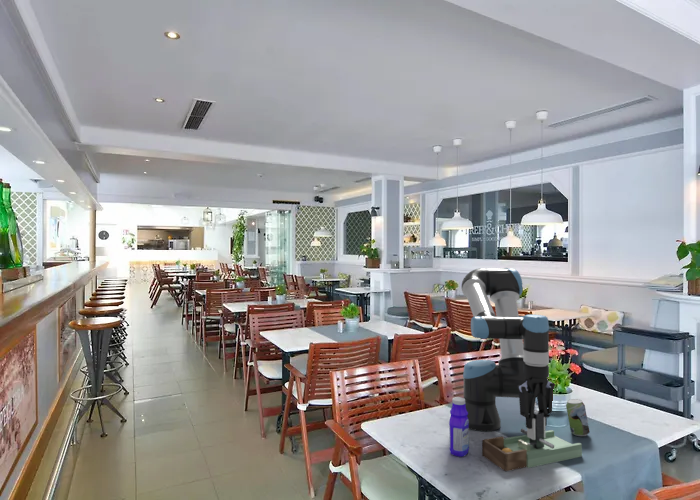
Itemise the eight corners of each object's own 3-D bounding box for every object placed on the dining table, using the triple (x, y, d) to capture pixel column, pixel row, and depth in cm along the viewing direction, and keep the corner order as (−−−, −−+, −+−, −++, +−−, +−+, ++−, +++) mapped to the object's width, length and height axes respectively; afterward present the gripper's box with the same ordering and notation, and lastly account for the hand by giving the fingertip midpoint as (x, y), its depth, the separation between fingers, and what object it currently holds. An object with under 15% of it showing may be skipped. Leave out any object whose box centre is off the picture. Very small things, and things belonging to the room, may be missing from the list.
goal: (502, 451, 139) (502, 436, 140) (526, 467, 129) (526, 450, 129) (482, 455, 137) (482, 439, 137) (505, 471, 127) (505, 454, 127)
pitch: (552, 441, 148) (551, 429, 148) (581, 456, 136) (581, 444, 136) (500, 451, 140) (500, 438, 140) (528, 467, 129) (528, 454, 129)
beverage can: (592, 438, 150) (591, 404, 150) (569, 437, 151) (569, 402, 151) (586, 431, 156) (585, 398, 156) (564, 430, 157) (563, 397, 158)
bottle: (464, 459, 134) (464, 403, 134) (446, 455, 137) (446, 400, 137) (471, 450, 140) (471, 397, 140) (454, 446, 143) (454, 394, 143)
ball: (498, 451, 133) (505, 443, 134) (499, 456, 135) (506, 448, 136) (507, 459, 131) (515, 451, 132) (508, 464, 133) (515, 456, 134)
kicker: (525, 437, 144) (525, 405, 144) (556, 454, 132) (556, 418, 132) (508, 440, 142) (508, 407, 142) (538, 457, 130) (537, 421, 130)
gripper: (546, 358, 145) (547, 429, 144) (507, 363, 139) (507, 436, 138) (564, 364, 138) (565, 438, 137) (524, 368, 132) (524, 446, 131)
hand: (536, 437), depth 138 cm, fingers open, 3 cm apart
